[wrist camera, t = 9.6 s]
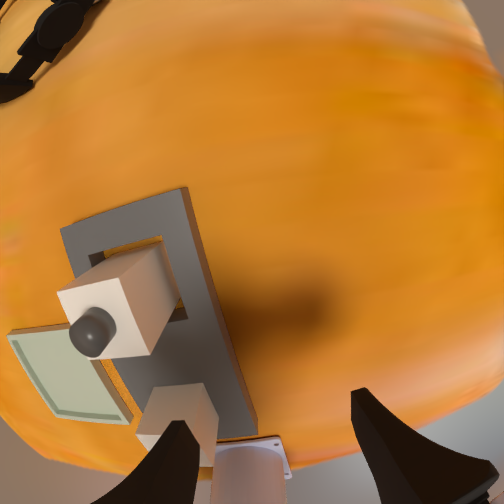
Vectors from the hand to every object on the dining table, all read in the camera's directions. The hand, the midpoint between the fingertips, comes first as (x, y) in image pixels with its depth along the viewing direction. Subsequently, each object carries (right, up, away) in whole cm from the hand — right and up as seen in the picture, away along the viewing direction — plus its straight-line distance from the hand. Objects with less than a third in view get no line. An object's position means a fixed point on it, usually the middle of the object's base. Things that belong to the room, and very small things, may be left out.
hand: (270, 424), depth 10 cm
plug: (-8, +6, +8) cm, 13 cm away
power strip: (-7, +1, +9) cm, 12 cm away
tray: (-19, -5, +11) cm, 22 cm away
